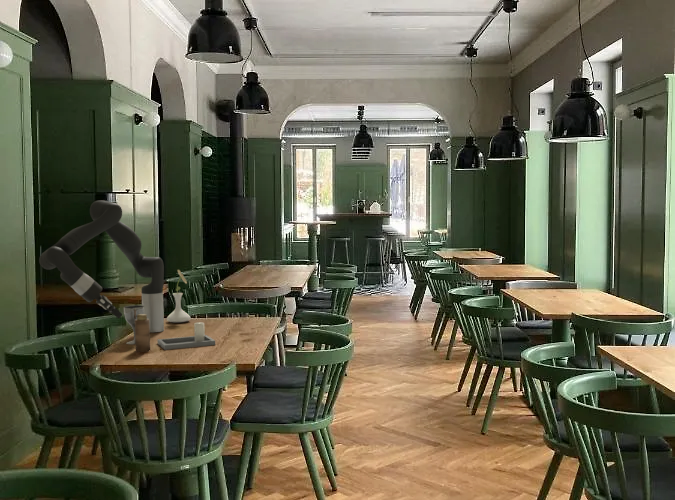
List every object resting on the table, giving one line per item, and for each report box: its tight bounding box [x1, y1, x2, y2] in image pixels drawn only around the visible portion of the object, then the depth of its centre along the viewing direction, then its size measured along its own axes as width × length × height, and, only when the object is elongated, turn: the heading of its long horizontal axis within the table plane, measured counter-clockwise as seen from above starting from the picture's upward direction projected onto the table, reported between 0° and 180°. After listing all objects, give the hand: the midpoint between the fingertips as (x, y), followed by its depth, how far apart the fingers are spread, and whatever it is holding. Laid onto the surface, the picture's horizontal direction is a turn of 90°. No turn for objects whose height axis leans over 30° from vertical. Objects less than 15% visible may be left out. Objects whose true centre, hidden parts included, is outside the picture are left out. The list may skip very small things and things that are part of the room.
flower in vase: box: [166, 269, 192, 323], centre depth 358 cm, size 13×11×25 cm
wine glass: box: [123, 304, 144, 345], centre depth 306 cm, size 8×8×15 cm
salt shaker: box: [193, 321, 206, 342], centre depth 300 cm, size 4×4×8 cm
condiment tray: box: [156, 334, 216, 351], centre depth 297 cm, size 14×20×2 cm
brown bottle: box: [135, 314, 151, 353], centre depth 290 cm, size 6×6×14 cm
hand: (119, 314), depth 286 cm, fingers open, 8 cm apart
